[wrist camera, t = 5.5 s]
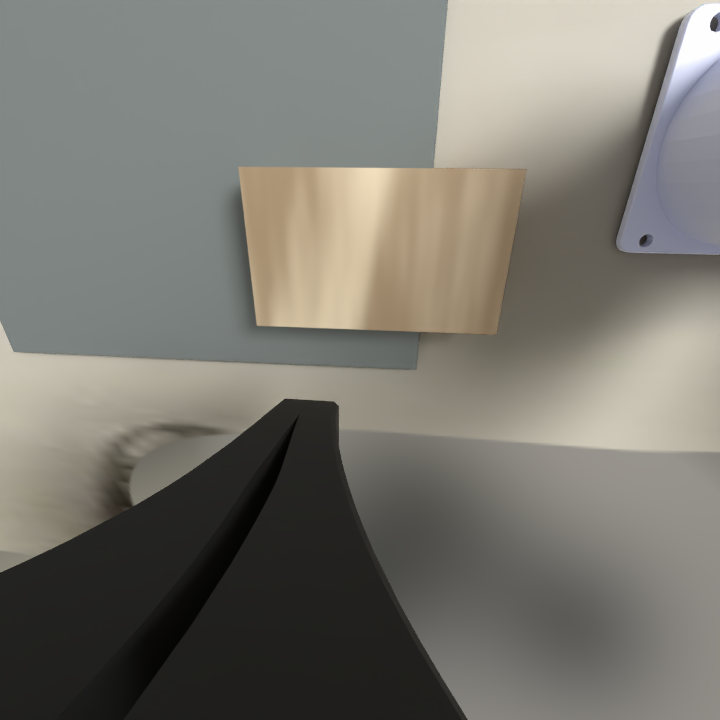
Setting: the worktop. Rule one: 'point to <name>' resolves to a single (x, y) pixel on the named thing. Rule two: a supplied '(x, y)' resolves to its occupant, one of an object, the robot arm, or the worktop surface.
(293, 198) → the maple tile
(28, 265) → the rubber mat
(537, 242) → the worktop surface
